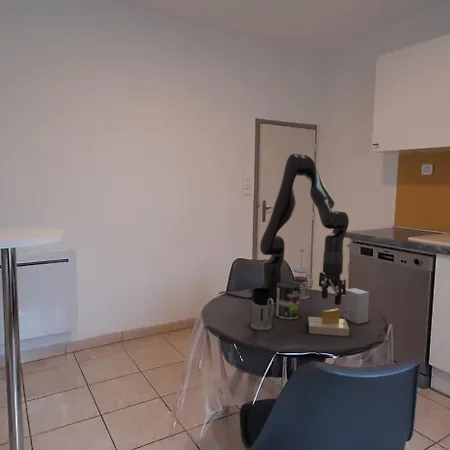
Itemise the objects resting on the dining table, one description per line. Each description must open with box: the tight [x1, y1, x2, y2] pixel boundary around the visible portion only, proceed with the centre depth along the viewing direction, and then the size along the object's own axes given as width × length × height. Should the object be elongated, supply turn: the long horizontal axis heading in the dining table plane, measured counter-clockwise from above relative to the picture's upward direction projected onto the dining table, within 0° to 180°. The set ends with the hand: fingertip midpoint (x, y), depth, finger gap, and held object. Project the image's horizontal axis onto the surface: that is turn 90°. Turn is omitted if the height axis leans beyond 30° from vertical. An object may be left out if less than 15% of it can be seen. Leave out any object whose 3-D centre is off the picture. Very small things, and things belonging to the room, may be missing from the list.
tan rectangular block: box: [321, 307, 341, 324], centre depth 151 cm, size 7×2×5 cm, turn 110°
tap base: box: [307, 316, 350, 337], centre depth 152 cm, size 15×11×3 cm
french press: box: [292, 248, 314, 300], centre depth 198 cm, size 10×12×25 cm
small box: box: [343, 287, 370, 325], centre depth 163 cm, size 8×6×13 cm
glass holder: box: [250, 287, 275, 331], centre depth 152 cm, size 9×14×15 cm, turn 20°
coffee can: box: [275, 281, 301, 320], centre depth 168 cm, size 10×10×14 cm
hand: (330, 301), depth 151 cm, fingers open, 8 cm apart
